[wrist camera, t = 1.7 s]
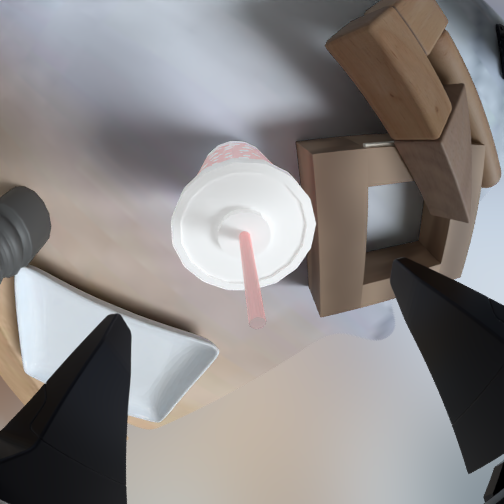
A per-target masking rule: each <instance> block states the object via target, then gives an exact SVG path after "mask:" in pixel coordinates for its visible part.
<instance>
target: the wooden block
mask: <svg viewBox="0 0 504 504" xmlns="http://www.w3.org/2000/svg"><path fill="white" fill-rule="evenodd" d="M447 24H448V19H447V18H446V16H445V15H444V13H443V11H442V10H441V8H440V7H439V5H438V4H437V2H436V1H435V0H381V1H379V2H378V3H376V4H375V5H374V6H372V7H371V8H370V9H368V10H367V11H366V12H365V14H364V16H362V17H360V18H358V19H355V20H353V21H351V22H350V23H348V24H347V25H346V26H345V27H343V28H342V29H341V30H340V31H338V32H337V33H336V34H335V35H333V36H332V37H331V38H330V39H329V40H327V42H326V44H325V47H326V49H327V50H328V51H329V52H330V54H331V55H332V56H333V57H334V58H335V60H336V61H337V62H338V63H339V64H340V66H341V67H342V68H343V69H344V71H345V72H346V73H347V74H348V76H349V77H350V78H351V80H352V81H353V82H354V84H355V85H356V86H357V88H358V89H359V90H360V92H361V93H362V94H363V96H364V97H365V99H366V100H367V102H368V103H369V104H370V106H371V107H372V109H373V110H374V112H375V113H376V115H377V116H378V118H379V119H380V121H381V122H382V124H383V126H384V127H385V129H386V130H387V132H388V134H389V135H390V137H391V138H392V139H394V144H395V146H396V148H397V149H398V151H399V153H400V155H401V156H402V158H403V160H404V162H405V164H406V165H407V167H408V169H409V171H410V173H411V175H412V177H413V179H414V181H415V183H416V185H417V187H418V189H419V191H420V193H421V195H422V197H423V199H424V201H425V203H426V205H427V208H428V210H429V212H430V214H431V215H434V216H439V217H443V218H448V219H452V220H456V221H461V222H465V223H469V222H470V213H471V197H472V146H471V142H476V143H481V144H484V145H486V146H485V159H484V169H483V177H482V185H481V187H482V188H489V187H492V186H494V185H496V184H497V183H498V182H499V180H500V178H501V168H500V164H499V160H498V155H497V151H496V148H495V144H494V140H493V137H492V133H491V130H490V127H489V124H488V120H487V117H486V114H485V112H484V109H483V106H482V103H481V101H480V98H479V95H478V93H477V90H476V88H475V85H474V83H473V81H472V78H471V76H470V74H469V72H468V69H467V67H466V65H465V63H464V61H463V59H462V57H461V55H460V53H459V51H458V49H457V47H456V45H455V43H454V42H453V40H452V38H451V36H450V34H449V33H448V31H446V30H445V27H446V25H447Z"/></svg>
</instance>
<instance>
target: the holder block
mask: <svg viewBox="0 0 504 504" xmlns="http://www.w3.org/2000/svg"><path fill="white" fill-rule="evenodd" d="M471 146H472V197H471V213H470V222H469V223H465V222H461V221H456V220H452V219H448V218H443V217H439V216H434V215H431V214H430V212H429V210H428V208H427V205H426V203H425V201H424V203H423V211H422V220H421V227H420V234H419V240H418V241H415V242H411V243H406V244H402V245H397V246H393V247H388V248H384V249H379V250H375V251H370V252H366V240H367V217H368V187H371V186H378V185H386V184H393V183H402V182H410V181H414V179H413V177H412V175H411V173H410V171H409V169H408V167H407V165H406V164H405V162H404V160H403V158H402V156H401V155H400V153H399V151H398V149H397V148H396V146H395V144H394V139H392V138H391V137H390V135H389V134H388V133H385V134H367V135H353V136H341V137H331V138H321V139H312V140H304V141H297V142H296V148H297V156H298V164H299V173H300V183H301V188H302V189H303V190H304V191H305V193H306V194H307V195H308V196H309V198H310V200H311V204H312V208H313V213H314V217H315V221H316V226H315V231H314V236H313V241H312V245H311V249H310V250H309V251H308V253H307V267H308V284H309V289H310V291H311V294H312V297H313V299H314V302H315V304H316V307H317V310H318V312H319V315H320V317H325V316H330V315H334V314H338V313H342V312H346V311H350V310H354V309H358V308H362V307H365V306H369V305H373V304H377V303H380V302H384V301H387V300H391V299H394V298H396V297H395V294H394V292H393V290H392V287H391V284H390V275H391V269H392V263H393V261H394V260H395V259H397V258H401V257H406V258H408V259H410V260H413V261H415V262H417V263H419V264H421V265H424V266H426V267H428V268H430V269H432V270H434V271H436V272H438V273H441V274H443V275H445V276H447V277H449V278H451V279H453V280H454V279H457V278H460V277H461V274H462V270H463V267H464V264H465V260H466V256H467V253H468V249H469V245H470V242H471V237H472V233H473V229H474V224H475V219H476V215H477V209H478V204H479V198H480V192H481V185H482V177H483V169H484V159H485V146H486V145H484V144H481V143H476V142H471Z"/></svg>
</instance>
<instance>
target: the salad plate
mask: <svg viewBox="0 0 504 504" xmlns="http://www.w3.org/2000/svg"><path fill="white" fill-rule="evenodd" d="M14 285H15V302H16V313H17V323H18V332H19V340H20V348H21V356H22V362H23V367H24V371H25V372H26V373H27V374H28V375H30V376H31V377H33V378H35V379H37V380H39V381H41V382H43V383H45V384H46V381H47V380H48V379H49V378H50V377H51V376H52V374H53V373H54V372H55V371H56V370H57V369H58V368H59V367H60V365H61V364H62V363H63V362H64V361H65V360H66V359H67V358H68V357H69V355H70V354H71V353H72V352H73V351H74V350H75V349H76V348H77V347H78V346H79V345H80V344H81V342H82V341H83V340H84V339H85V338H86V337H87V336H88V335H89V334H90V333H91V332H92V331H93V330H94V329H95V328H96V327H97V326H98V324H99V323H100V322H101V321H102V320H103V319H104V318H105V317H106V316H107V315H109V314H115V313H119V314H120V315H121V316H122V317H123V319H124V321H125V322H126V324H127V326H128V327H129V329H130V331H131V335H132V343H131V382H130V392H129V404H128V415H129V416H133V417H136V418H140V419H144V420H148V421H152V422H161V421H162V420H163V419H164V418H165V417H166V416H167V415H168V414H169V413H170V411H171V410H172V409H173V408H174V407H175V405H176V404H177V403H178V402H179V400H180V399H181V398H182V397H183V396H184V394H185V393H186V392H187V391H188V390H189V389H190V388H191V386H192V385H193V384H194V383H195V382H196V381H197V380H198V379H199V377H200V376H201V375H202V374H203V373H204V372H205V371H206V370H207V368H208V367H209V366H210V365H211V364H212V363H213V361H214V360H215V359H216V357H217V356H218V354H219V349H218V348H217V346H216V345H215V344H213V343H212V342H211V341H209V340H208V339H206V338H204V337H202V336H199V335H196V334H193V333H190V332H187V331H184V330H181V329H178V328H174V327H171V326H168V325H165V324H162V323H159V322H156V321H153V320H151V319H148V318H145V317H142V316H140V315H137V314H134V313H132V312H129V311H127V310H125V309H122V308H120V307H117V306H115V305H113V304H110V303H108V302H105V301H103V300H101V299H99V298H96V297H94V296H92V295H90V294H88V293H86V292H83V291H81V290H79V289H77V288H75V287H73V286H71V285H69V284H67V283H66V282H64V281H62V280H60V279H58V278H56V277H54V276H52V275H51V274H49V273H47V272H45V271H43V270H41V269H39V268H37V267H34V266H32V265H27V266H25V267H23V268H21V269H20V270H19V272H18V274H17V275H14Z"/></svg>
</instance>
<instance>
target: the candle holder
mask: <svg viewBox="0 0 504 504" xmlns="http://www.w3.org/2000/svg"><path fill="white" fill-rule="evenodd" d="M50 230H51V223H50V217H49V213H48V211H47V208H46V206H45V204H44V202H43V201H42V200H41V198H40V197H39V196H38V195H37V194H36V193H35V192H34V191H32V190H30V189H28V188H26V187H14V188H13V189H12V190H10V191H9V192H7V193H6V194H4V195H3V196H2V197H0V284H1V281H2V279H3V278H5V277H7V278H9V277H12V276H14V275H17V274H18V272H19V270H20V269H21V268H23V267H25V266H27V265H28V264H29V263H30V261H31V260H32V259H33V258H34V256H35V255H36V254H37V253H38V252H39V250H40V249H41V248H42V247H43V246H44V244H45V243H46V241H47V240H48V239H49V236H50Z"/></svg>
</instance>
